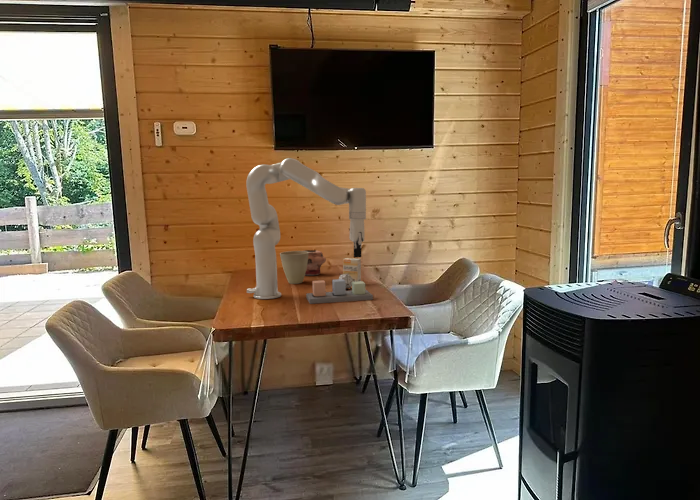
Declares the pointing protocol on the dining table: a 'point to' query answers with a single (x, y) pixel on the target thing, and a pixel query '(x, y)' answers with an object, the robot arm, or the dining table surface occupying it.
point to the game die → (347, 279)
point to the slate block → (339, 287)
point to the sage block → (358, 288)
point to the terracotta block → (319, 288)
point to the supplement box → (352, 268)
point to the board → (338, 297)
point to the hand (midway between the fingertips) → (357, 257)
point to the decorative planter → (314, 262)
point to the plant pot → (294, 265)
